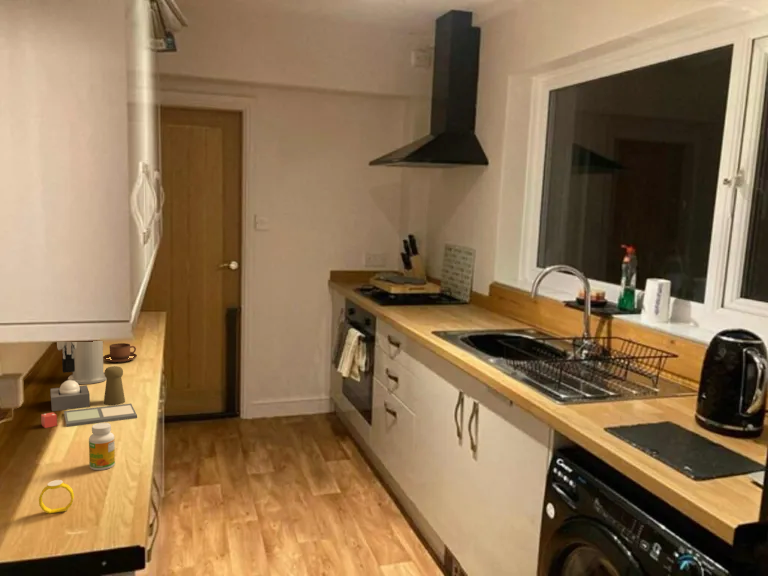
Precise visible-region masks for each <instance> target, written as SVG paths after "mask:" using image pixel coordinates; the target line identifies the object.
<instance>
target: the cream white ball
mask: <svg viewBox="0 0 768 576" xmlns="http://www.w3.org/2000/svg"><path fill="white" fill-rule="evenodd" d="M79 386H80V384H78V383H77V382H75V381H73V380H68V379H67V380H64V382H62V383H61V385H60V387H59V388H60V395H65V394H74V393H80V387H79Z"/></svg>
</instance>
